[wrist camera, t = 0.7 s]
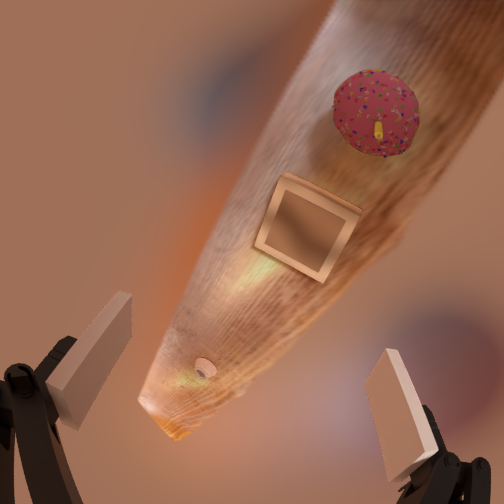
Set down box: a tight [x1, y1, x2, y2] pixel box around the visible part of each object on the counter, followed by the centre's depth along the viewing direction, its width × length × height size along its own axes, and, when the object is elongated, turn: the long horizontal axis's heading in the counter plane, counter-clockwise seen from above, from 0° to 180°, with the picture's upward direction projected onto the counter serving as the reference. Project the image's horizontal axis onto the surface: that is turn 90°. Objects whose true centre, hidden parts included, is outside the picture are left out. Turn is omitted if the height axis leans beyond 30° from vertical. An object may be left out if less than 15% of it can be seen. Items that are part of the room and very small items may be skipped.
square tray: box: [254, 172, 363, 283], centre depth 36 cm, size 10×10×3 cm
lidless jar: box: [194, 358, 217, 379], centre depth 59 cm, size 5×3×5 cm
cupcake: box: [332, 70, 420, 157], centre depth 23 cm, size 9×8×12 cm
